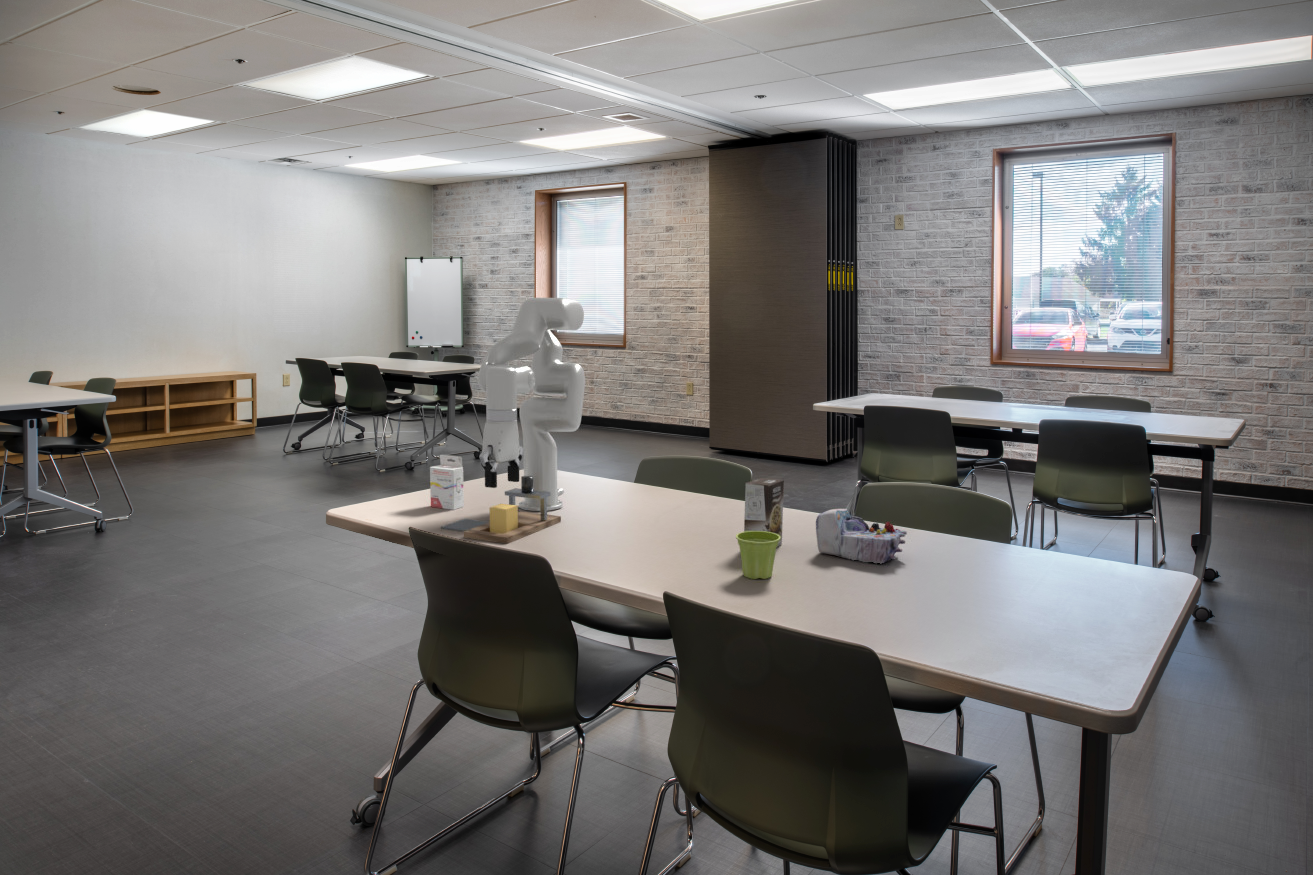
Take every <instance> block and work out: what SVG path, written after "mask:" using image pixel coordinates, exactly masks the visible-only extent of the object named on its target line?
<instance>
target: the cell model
mask: <svg viewBox="0 0 1313 875" xmlns="http://www.w3.org/2000/svg"><path fill="white" fill-rule="evenodd" d="M815 532H816V533H815V534H816V541H817V542H816V543H817V545H816V546H817V550H818V552H819V553H821V554H827V555H834V556H837V557H839V558H840V557H841V558H843V559H847V560H850V559H852V560H851V561H854V560H859V561H858V562H860V561H865V562H864V563H868V562H873V564H877V563H880V564H881V565H882V563H883V564H884V563H887V561H888V562H889V560H890V561H892V560H897V558H898V557H897V556H895V554H896V553H902V552H903V549H902V548H900V547H899V545H904V544H906V540H905V539H901V538H903V537H906V535H908V534H907V533H908V532H907V531H906V530H901V529H899V528H894V525H893V524H891V523H890V521H886V522H885V524H884V527H880V524H879V522H876V523H875V522H873V523H872V524H871V526H869V524H868V523H867V522H865V520H864V519H863V518H862V517H859V516H854V515H851V514H850V510H848V509H847V508H834V509H829V510H826V511H824V512H821V513H820V514H818V515H817V516H816V520H815ZM891 559H892V560H891ZM880 564H879V565H880Z"/></svg>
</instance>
